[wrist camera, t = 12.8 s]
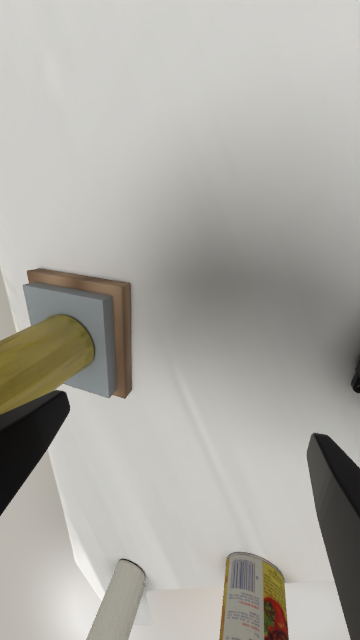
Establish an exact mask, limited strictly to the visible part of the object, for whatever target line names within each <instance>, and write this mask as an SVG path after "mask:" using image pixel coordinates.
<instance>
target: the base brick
mask: <svg viewBox="0 0 360 640" xmlns="http://www.w3.org/2000/svg"><path fill="white" fill-rule="evenodd" d="M27 275H28V280H29V283H33V282H40V283H45V284H50V285H56V286H61V287H67V288H72V289H78V290H83V291H89V292H94V293H99V294H105V295H110V296H112V299H113V320H114V340H115V361H116V382H117V390H116V391H115V392H114V393H113V394H112V395H115V396H118V397H121V398H124V399H125V398H126V397H127V395H128V394H129V393H130V392H131V390H132V387H131V321H130V283H124V282H118V281H112V280H106V279H100V278H94V277H88V276H82V275H75V274H69V273H63V272H57V271H51V270H45V269H34V270H29V271H27Z"/></svg>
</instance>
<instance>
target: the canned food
mask: <svg viewBox="0 0 360 640" xmlns="http://www.w3.org/2000/svg"><path fill="white" fill-rule="evenodd" d="M219 640H289V638H288V626H287V614H286V601H285V588H284V577H283V575H282V574H281V572H280V571H279V570H278V569H277V568H276V567H275V566H274V565H273V564H271V563H270V562H268V561H267V560H265V559H263V558H261V557H258V556H256V555H253V554H249V553H243V552H237V553H232V554H230V555H229V556H228V557H227V562H226V573H225V584H224V596H223V606H222V618H221V629H220V639H219Z"/></svg>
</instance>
